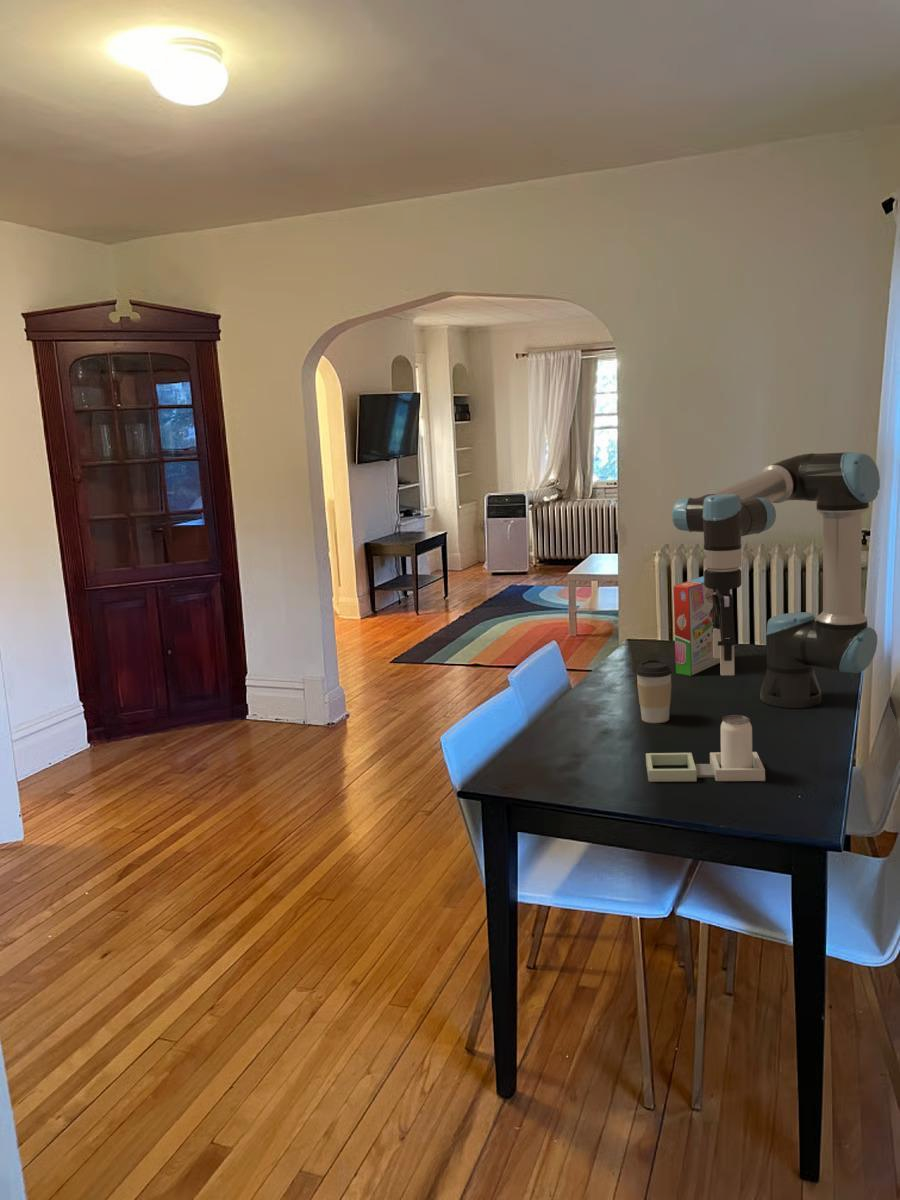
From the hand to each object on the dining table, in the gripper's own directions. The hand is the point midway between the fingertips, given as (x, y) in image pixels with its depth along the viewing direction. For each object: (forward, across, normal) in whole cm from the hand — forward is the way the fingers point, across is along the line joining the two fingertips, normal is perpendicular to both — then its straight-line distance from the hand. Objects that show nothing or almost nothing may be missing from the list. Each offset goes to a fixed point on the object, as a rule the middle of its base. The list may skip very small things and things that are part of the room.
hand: (723, 666), depth 188 cm
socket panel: (+23, +2, -5) cm, 24 cm away
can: (+24, +2, +2) cm, 24 cm away
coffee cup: (+23, -33, -14) cm, 42 cm away
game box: (+23, -79, +2) cm, 82 cm away
